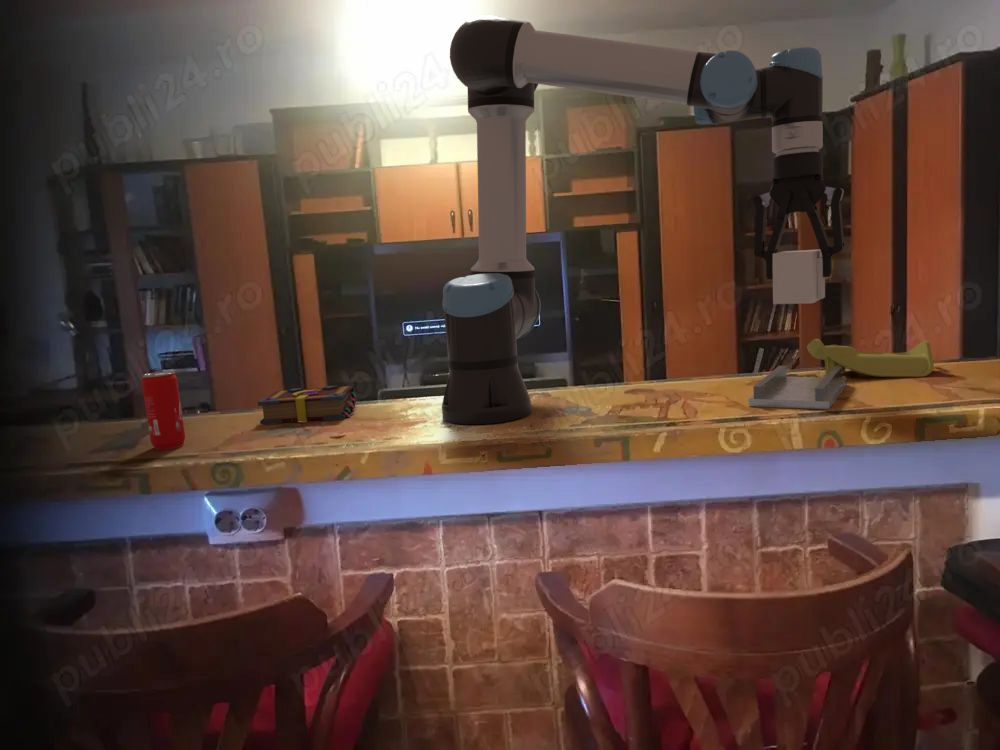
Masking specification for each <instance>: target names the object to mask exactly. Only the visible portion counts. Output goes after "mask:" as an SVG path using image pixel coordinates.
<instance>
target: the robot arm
mask: <svg viewBox="0 0 1000 750" xmlns="http://www.w3.org/2000/svg"><path fill="white" fill-rule="evenodd" d="M449 60H450V64H451V67H452V70H453V73H454V74H455V76H456V78H457V79H458V80H459V82H461V84H462V85H464V86H465V87H466V88H467V113H468V114H469V115H470V116H471V117H472V118H473V119H474V120H475V122H476V139H477V140H476V152H477V153H476V154H477V158H476V159H477V162H476V163H477V216H478V217H477V219H478V220H477V221H478V224H477V225H478V260H477V262H476V263H474V265H473V266H472V267H470V274H469V275H466V276H461V277H456V278H454V279H451V280H449V281H448V282H446V283H445V285H444V286H443V289H442V303H441V305H442V309H443V316H444V329H445V339H446V341H445V342H446V349H447V350H446V351H447V352H446V353H447V361H448V376H447V377H448V378H447V381H446V384H445V385H446V386H445V390H444V394H443V399H442V404H441V413H442V416H441V417H442V419H443V420H444V421H445V422H448V423H451V424H458V425H459V424H461V425H487V424H498V423H504V422H511V421H514V420H518V419H523V418H524V417H526V416H527V417H528V416H529V415H530V414H531V413H532V400H531V399H532V398H531V397H530V394H529V392H528V389H527V386H526V384H525V382H524V379H523V377H522V374H521V371H520V369H519V361H518V349H517V347H518V346H517V341H518V340H520V339H522V338H524V337H526V335H528V334H529V333H530V332H531V331H532V330H533V328H534V327H535V325H536V324H537V322H538V321H539V318H540V314H541V310H542V309H541V308H542V305H541V298H540V295H539V293H538V290H537V289H536V286H535V284H536V282H535V281H536V280H535V279H536V277H535V275H536V272H535V270H536V269H535V266H534V265H532V264H531V262H530V261H529V260H528V259H527V161H526V160H527V152H526V151H527V149H526V148H527V147H526V146H527V144H526V143H527V142H526V141H527V140H526V139H527V136H526V131H527V130H526V127H527V126H526V123H527V121H528V119H529V118H530V117H531V116H532V114H533V113H534V112H535V92H536V90H537V88H538V86H539V85H543V86H550V87H557V88H558V87H559V88H565V89H566V88H567V89H571V90H579V91H586V92H593V93H599V94H607V95H613V96H614V95H615V96H622V97H628V98H634V99H642V100H648V101H655V102H656V101H657V102H661V103H662V102H665V103H671V104H677V105H683V106H684V105H685V106H688V107H693V117H694V121H695V123H696V124H697V125H715V126H717V125H720V124H725V123H731V122H739V121H747V120H755V119H765V118H771V152H772V153H773V154H775V156H774V157H773V158H772V159H771V160H772V163H771V164H772V165H771V166H772V184H771V188H770V189H769V191H768V192H765V193H763V194H760V195H754V196H753V198H752V202H753V205H754V207H755V225H754V226H755V228H754V245H753V246H754V247H753V255H754V256H755V257H759V258H762V259H764V261H765V270H766V272H765V273H766V275H765V277H766V279H767V280H773V254H774V253H778V250H779V247H780V245H781V241H782V237H783V235H784V232H785V229H786V226H787V222H788V219H789V218H790V214H795V213H798V212H799V213H806V215H807V217H808V219H809V222H810V224H811V227H812V230H813V234H814V236H815V239H816V241H817V245H818V247H819V249H820V250H821V253H822V257H819V258H817V299H820V300H822V299H824V298H826V278H830V277H831V276H832V275H833V256H834V255H835V254H838V253H841V252H843V251H844V250H845V239H844V236H845V235H844V224H843V223H844V222H843V213H842V202H843V198H844V194H845V190H844V189H843V188H841V187H830V186H827V184H826V182H825V181H824V176H823V175H824V154H823V153H822V152H821V151H819V150H821V149H822V148H823V147H824V141H823V139H824V137H823V136H824V135H823V133H824V132H823V131H824V129H823V126H824V125H823V123H824V122H823V98H824V97H823V94H824V93H823V86H824V85H823V84H824V83H823V81H824V77H823V69H822V68H823V66H822V54H821V53H820V51H819V50H818V49H816V48H815V47H812V46H811V47H809V46H801V47H793V48H789V49H783V50H780V51H777V52H774V54H773V55H771V57H770V63H769V66H767V67H764V68H758V69H757V68H756V67H755V65H754V63H753V62H752V60H751V59H750V57H749V56H747V55H746V54H744V53H743V52H740V51H739V50H724V51H720V52H718V53H712V52H702V51H696V50H690V49H681V48H673V47H668V46H667V47H665V46H661V45H660V46H659V45H658V46H657V45H650V44H643V43H635V42H630V41H629V42H626V41H619V40H614V39H613V40H612V39H606V38H598V37H590V36H583V35H574V34H567V33H559V32H553V31H552V32H551V31H544V30H536V29H535V28H534V25H533V24H532V22H529V21H524V20H516V19H512V18H505V17H501V16H494V15H491V14H490V15H488V14H487V15H484V14H483V15H478V16H474V17H471V18H469V19H468V20H466V21H465V22H463V23H462V25H460V27H459V28H458V29H457V30H456V31H455V33H454V35H453V38H452V40H451V43H450V49H449ZM825 194H826V196H827V197H826V198H827V199H826V200H828V201H829V202H830V214H831V224H832V226H831V227H832V228H831V229H832V239H833V240H832V241H833V246H831V244H830V241H829V239H828V236H827V233H826V230H825V227H824V224H823V221H822V218H821V215H820V212H819V209H818V203H819V202H820V200H821V199H822V197H823V196H824V195H825ZM771 199H772V201H773V202H774V203H775V204H776V205H777V206H778V212H777V214H776V219H775V223H774V226H773V230H772V231H771V235H770V240H769V243H768V246H767V250H766V236H767V221H768V220H767V217H768V216H767V215H768V209H767V207H769V205H770V201H771Z"/></svg>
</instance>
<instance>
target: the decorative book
mask: <svg viewBox="0 0 1000 750" xmlns="http://www.w3.org/2000/svg"><path fill="white" fill-rule="evenodd" d="M356 397H357V394H356V393H355V390H354V386H353V385H347V386H338V385H337V384H336V385H326V386H322V388H321V387H318V388H308V389H307V388H306V389H304V387H297V388H296V387H294V388H291V389H287V390H277V391H275V392H273V393H272V394H269V396H267V397H264V398H262V399H260V400H259V401H257V405H258V407H262V414H263V418H262V419H261V420H260V421H259V423H260V424H265V425H271V424H270V423H278V424H283V423H289V422H290V421H292V422H298V421H307V420H309V421H318V420H319V421H320V420H322V421H332V420H344V419H346V418H347V417H348V418H351V417H352V415H350V414H349V413H350V412H351V411H352V410H353V409H355V408H356V407H357V406H356V403H357V401H356Z"/></svg>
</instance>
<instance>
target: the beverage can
mask: <svg viewBox="0 0 1000 750" xmlns="http://www.w3.org/2000/svg"><path fill="white" fill-rule="evenodd" d="M141 386H142V391H143V398H144V405H145V412H146V418H147V425H148V426H147V427H148V431H149V437H150V444H152V447H154V450H155V451H167V450H173V449H178V448H180V447H183V446H184V445H185V443H184V442H185V440H186V433H185V432H186V430H185V425H184V418H183V411H182V404H181V397H180V389H179V383H178V377H177V375H176V374H175V371H173V370H165V371H156V372H150V373H144V374H143V375H142V380H141Z"/></svg>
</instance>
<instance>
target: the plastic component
mask: <svg viewBox="0 0 1000 750" xmlns="http://www.w3.org/2000/svg"><path fill="white" fill-rule="evenodd" d="M806 347H807V350H808V353H809V354H810V356H812V357H813V358H815V359H817V360H823V361H824V367H825V368H824V370H825V375H827V374H828V373H829V372H830V371H831V370H832V368H833V367H834V366H842V375H844V373H846V369H847V370H850V371H852V372H855V373H858V374H861V375H865V376H869V377H876V378H924V377H927V376H928V375H930V374H931V373H932V372H933V370H934V366H935V365H934V359H933V355H932V354H933V353H932V349H931V343H930V341H928V340H922V341H921V342H920V343H918V344H917V345H916V346H914V347H913V348H912V349H910V350H908V351H904V352H877V351H876V352H874V351H871V352H867V351H865V352H864V351H863V352H862V351H861V352H860V351H857V349H855V348H854V347H851V346H847V345H838V344H830V345H824V343H823V341H821V340H820V339H819V338H813V339H812V340H811V341H810V342H809V343H808V344H807V346H806Z"/></svg>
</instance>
